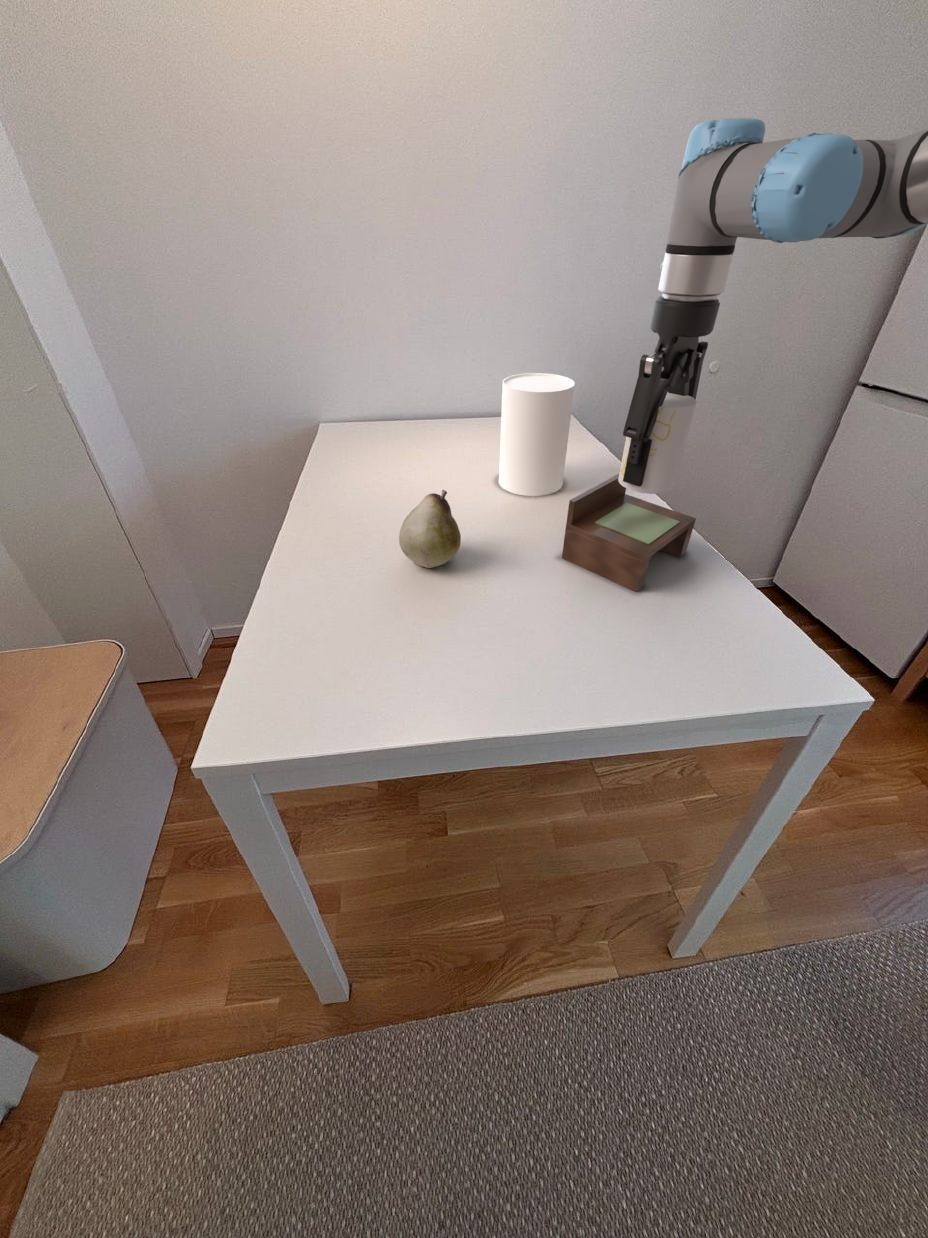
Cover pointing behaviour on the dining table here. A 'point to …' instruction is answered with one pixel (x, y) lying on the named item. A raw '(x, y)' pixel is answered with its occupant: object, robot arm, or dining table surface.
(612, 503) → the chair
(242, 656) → the dining table surface
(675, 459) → the white round cylinder
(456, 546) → the fruit
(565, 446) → the canister
